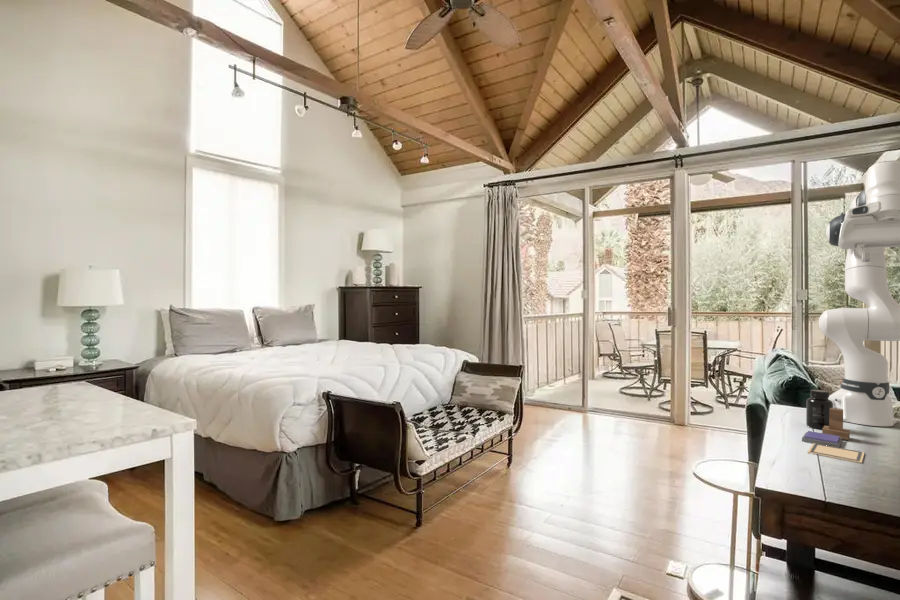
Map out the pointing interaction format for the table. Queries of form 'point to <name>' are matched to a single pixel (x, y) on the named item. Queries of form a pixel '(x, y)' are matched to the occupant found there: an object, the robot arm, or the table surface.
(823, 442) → the ink pad
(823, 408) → the supplement bottle
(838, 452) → the marked card
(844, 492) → the table surface
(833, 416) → the stamp
